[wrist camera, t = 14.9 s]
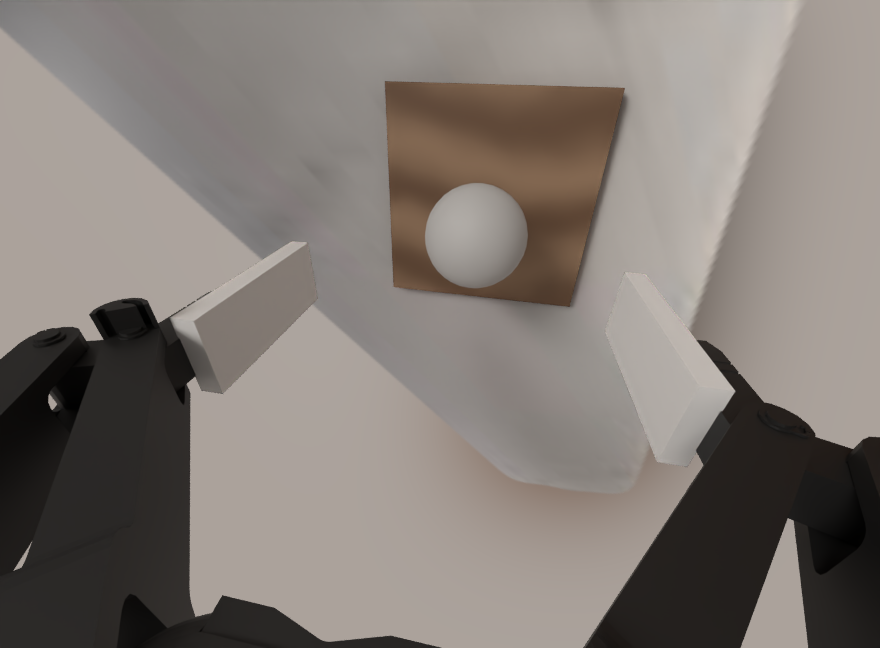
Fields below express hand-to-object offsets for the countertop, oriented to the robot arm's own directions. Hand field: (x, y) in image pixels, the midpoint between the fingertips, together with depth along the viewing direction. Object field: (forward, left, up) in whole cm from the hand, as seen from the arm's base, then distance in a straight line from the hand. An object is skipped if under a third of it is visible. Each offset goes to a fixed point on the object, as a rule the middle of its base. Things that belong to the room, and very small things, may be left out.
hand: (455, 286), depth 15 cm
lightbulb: (0, 0, -16) cm, 16 cm away
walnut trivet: (0, 0, -17) cm, 17 cm away
